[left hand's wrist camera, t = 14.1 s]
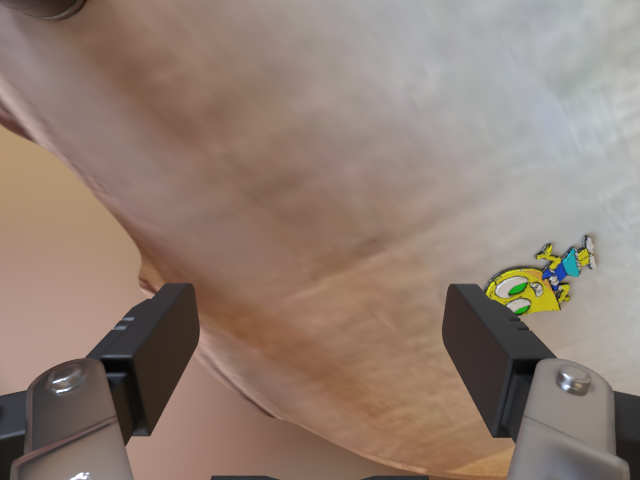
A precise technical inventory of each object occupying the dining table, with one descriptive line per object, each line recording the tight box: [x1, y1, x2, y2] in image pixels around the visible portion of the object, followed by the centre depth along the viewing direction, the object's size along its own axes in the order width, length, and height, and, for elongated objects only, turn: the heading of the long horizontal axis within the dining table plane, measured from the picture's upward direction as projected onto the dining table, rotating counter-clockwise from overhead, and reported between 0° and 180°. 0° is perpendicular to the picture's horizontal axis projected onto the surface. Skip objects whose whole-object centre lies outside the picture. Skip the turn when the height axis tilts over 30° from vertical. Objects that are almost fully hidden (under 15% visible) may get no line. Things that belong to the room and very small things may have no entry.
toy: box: [484, 235, 596, 317], centre depth 44 cm, size 10×1×15 cm
